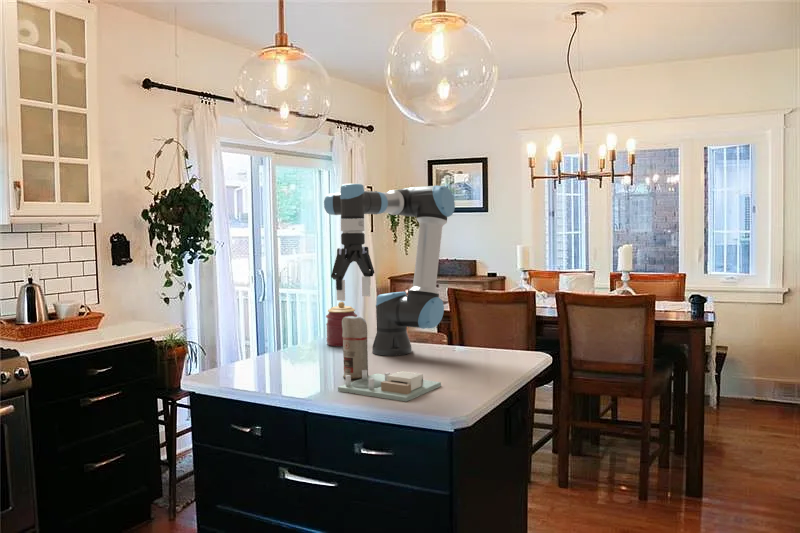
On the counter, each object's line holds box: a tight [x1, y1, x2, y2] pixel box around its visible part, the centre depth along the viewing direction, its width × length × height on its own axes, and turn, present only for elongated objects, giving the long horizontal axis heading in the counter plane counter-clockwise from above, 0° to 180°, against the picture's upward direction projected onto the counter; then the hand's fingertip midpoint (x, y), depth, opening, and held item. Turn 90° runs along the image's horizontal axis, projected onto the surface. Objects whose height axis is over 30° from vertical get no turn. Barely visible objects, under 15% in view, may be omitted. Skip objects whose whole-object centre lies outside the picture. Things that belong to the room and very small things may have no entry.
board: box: [337, 370, 442, 403], centre depth 198 cm, size 24×20×4 cm
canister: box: [325, 301, 358, 347], centre depth 273 cm, size 13×13×18 cm
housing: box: [388, 370, 424, 391], centre depth 194 cm, size 8×7×4 cm
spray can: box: [342, 316, 370, 380], centre depth 213 cm, size 8×8×20 cm
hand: (353, 298), depth 212 cm, fingers open, 13 cm apart
